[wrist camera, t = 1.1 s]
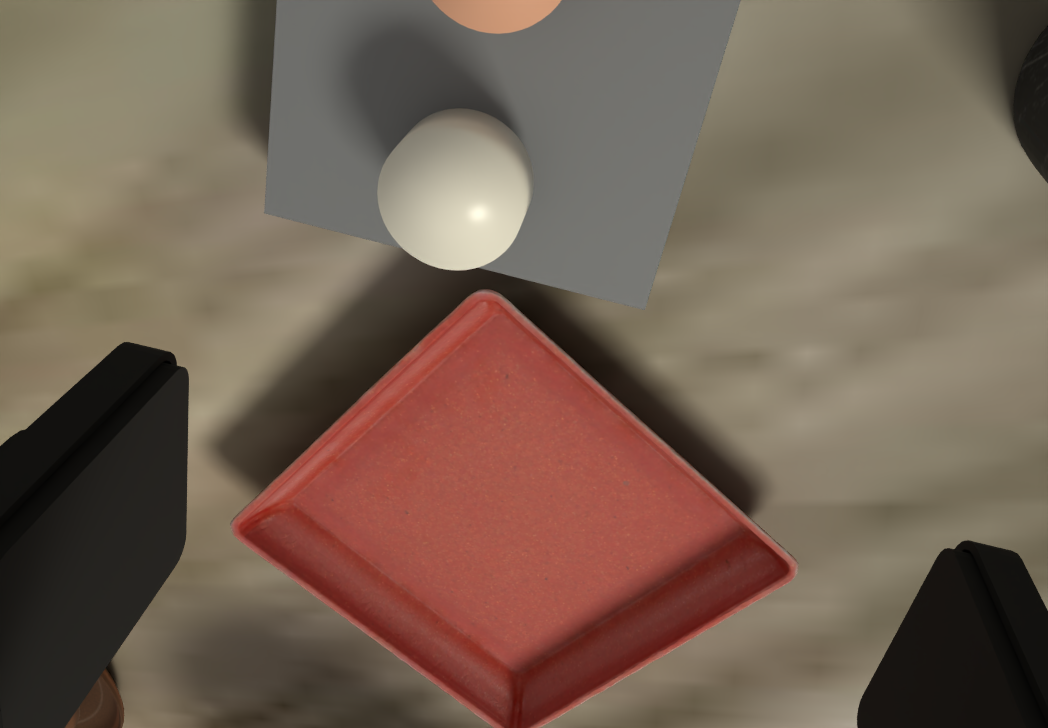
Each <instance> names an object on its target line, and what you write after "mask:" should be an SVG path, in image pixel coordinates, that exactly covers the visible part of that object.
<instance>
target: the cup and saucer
mask: <svg viewBox="0 0 1048 728" xmlns="http://www.w3.org/2000/svg"><path fill="white" fill-rule="evenodd" d="M123 723H124V708H123V703H122V699H121V696H120V694H119V691H118V689H117V686H116V684H115V682H114V680H113V679H112V677H111V675H110V674H109V672H108V671H107V669H106V668H105V670H104V671H103V673H102V674H101V676H100V677H99V679H98V680H97V681H96V683H95V684H94V686H93V687H92V689H91V690H90V692H89V693H88V695H87V696H86V697H85V699H84V700H83V702H82V703H81V705H80V706H79V708H78V709H77V711H76V712H75V714H74V715H73V716H72V718H71V719H70V721H69V722H68V724H67V725H66V727H65V728H122V726H123Z"/></svg>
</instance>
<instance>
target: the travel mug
mask: <svg viewBox="0 0 1048 728" xmlns="http://www.w3.org/2000/svg"><path fill="white" fill-rule="evenodd" d="M1014 122H1015V126H1016V131H1017V135H1018V138H1019V140H1020V143H1021V146H1022V147H1023V149H1024V151H1025V152H1026V154H1027V156H1028V158H1029V159H1030V161H1031V162H1032V164H1033V165H1034V166H1035V168H1036V169H1037V170H1038V172H1039V173H1040V174H1041V175H1042V177H1043V178H1044V179H1045V180H1046V182H1047V183H1048V26H1047V28H1046V29H1045V30H1044V31H1043V32H1042V34H1041V35H1040V36H1039V38H1038V39H1037V41H1036V42H1035V44H1034V45H1033V47H1032V48H1031V50H1030V52H1029V54H1028V56H1027V58H1026V60H1025V62H1024V64H1023V66H1022V69H1021V72H1020V74H1019V77H1018V81H1017V86H1016V90H1015V98H1014Z"/></svg>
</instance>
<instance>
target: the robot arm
mask: <svg viewBox="0 0 1048 728" xmlns="http://www.w3.org/2000/svg"><path fill="white" fill-rule="evenodd" d="M188 396H189V376H188V372H187V369H186V368H184V367H180V366H177V362H176V358H175V356H174V354H172V353H171V352H168V351H164V350H160V349H156V348H151V347H147V346H143V345H139V344H134V343H130V342H124V343H122V344H120V345H119V346H118V347H116V348H115V349H114V350H113V351H112V352H111V353H110V354H109V355H108V356H106V357H105V358H104V359H103V360H102V361H101V362H100V363H99V364H98V365H96V366H95V367H94V368H93V369H92V370H91V371H90V372H89V373H88V374H86V375H85V376H84V377H83V378H82V379H81V380H80V381H79V382H78V383H77V384H75V385H74V386H73V387H72V388H71V389H70V390H69V391H68V392H67V393H65V394H64V395H63V396H62V397H61V398H60V399H59V400H58V401H57V402H55V403H54V404H53V405H52V406H51V407H50V408H49V409H48V410H47V411H46V412H44V413H43V414H42V415H41V416H40V417H39V418H38V419H37V420H36V421H34V422H33V423H32V424H31V425H30V426H29V427H28V428H27V429H26V430H21V431H19V432H18V433H16V434H15V435H13V436H12V437H10V438H9V439H8V440H7V441H6V442H4V443H3V444H2V445H1V446H0V728H65V727H66V725H67V724H68V722H69V721H70V719H71V718H72V716H73V715H74V714H75V712H76V711H77V709H78V708H79V706H80V705H81V703H82V702H83V700H84V699H85V697H86V696H87V695H88V693H89V692H90V690H91V689H92V687H93V686H94V684H95V683H96V681H97V680H98V679H99V677H100V676H101V674H102V673H103V671H104V670H105V668H106V667H107V665H108V664H109V662H110V661H111V660H112V658H113V657H114V655H115V654H116V652H117V651H118V649H119V648H120V646H121V645H122V643H123V642H124V641H125V639H126V638H127V636H128V635H129V633H130V632H131V630H132V629H133V627H134V626H135V625H136V623H137V622H138V620H139V619H140V617H141V616H142V614H143V613H144V611H145V610H146V608H147V607H148V606H149V604H150V603H151V601H152V600H153V598H154V597H155V595H156V594H157V592H158V591H159V590H160V588H161V587H162V585H163V584H164V582H165V581H166V579H167V578H168V576H169V575H170V573H171V572H172V571H173V569H174V568H175V566H176V564H177V563H178V561H179V559H180V557H181V554H182V551H183V548H184V545H185V540H186V515H187V456H188ZM857 726H858V728H1048V610H1047V608H1046V606H1045V604H1044V602H1043V601H1042V599H1041V597H1040V595H1039V593H1038V591H1037V589H1036V587H1035V585H1034V583H1033V581H1032V579H1031V577H1030V575H1029V573H1028V571H1027V569H1026V567H1025V565H1024V563H1023V561H1022V559H1021V558H1020V556H1019V555H1018V554H1017V553H1015V552H1013V551H1011V550H1006V549H1002V548H998V547H994V546H990V545H985V544H981V543H977V542H973V541H962V542H961V543H960V544H959V545H957V547H956V548H955V549H950V548H947V549H944V550H943V551H941V552H940V554H939V555H938V557H937V558H936V560H935V562H934V564H933V566H932V568H931V570H930V571H929V573H928V575H927V577H926V579H925V581H924V583H923V585H922V586H921V588H920V590H919V592H918V594H917V596H916V598H915V599H914V601H913V603H912V605H911V607H910V609H909V611H908V612H907V614H906V616H905V618H904V620H903V622H902V624H901V625H900V627H899V629H898V631H897V633H896V635H895V637H894V638H893V640H892V642H891V644H890V646H889V648H888V650H887V651H886V653H885V655H884V657H883V659H882V661H881V663H880V664H879V666H878V668H877V670H876V672H875V674H874V676H873V677H872V679H871V681H870V683H869V685H868V687H867V689H866V690H865V692H864V694H863V696H862V698H861V701H860V704H859V708H858V715H857Z"/></svg>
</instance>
